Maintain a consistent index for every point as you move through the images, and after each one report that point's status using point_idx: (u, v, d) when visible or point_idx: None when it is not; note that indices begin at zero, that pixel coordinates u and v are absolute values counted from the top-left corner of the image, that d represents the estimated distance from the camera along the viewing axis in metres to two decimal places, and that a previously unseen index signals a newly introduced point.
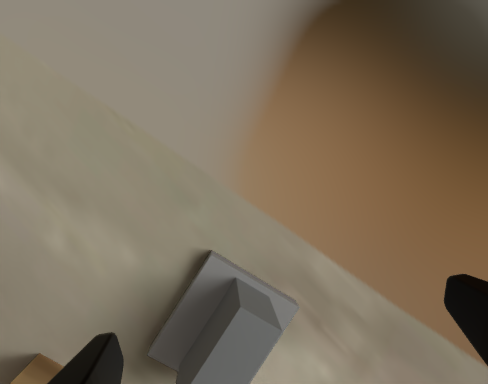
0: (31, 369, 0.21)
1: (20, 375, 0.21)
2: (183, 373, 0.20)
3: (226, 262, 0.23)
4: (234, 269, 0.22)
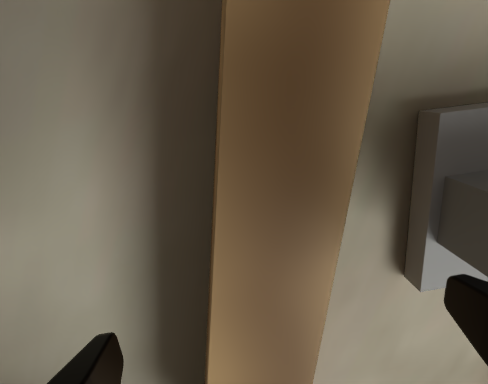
0: None
1: None
2: None
3: None
4: None
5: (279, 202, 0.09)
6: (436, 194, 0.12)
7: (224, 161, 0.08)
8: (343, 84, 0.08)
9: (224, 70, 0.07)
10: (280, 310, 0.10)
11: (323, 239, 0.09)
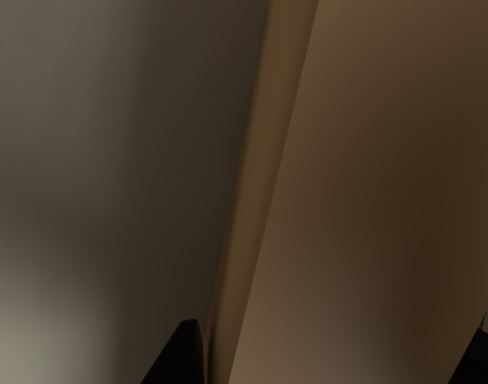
0: None
1: None
2: None
3: None
4: None
5: (361, 315, 0.05)
6: None
7: (275, 236, 0.04)
8: None
9: (310, 49, 0.03)
10: None
11: (421, 377, 0.05)
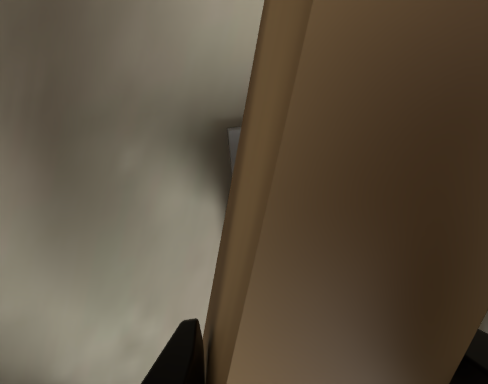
0: None
1: None
2: None
3: None
4: None
5: (359, 317, 0.05)
6: None
7: (271, 237, 0.04)
8: None
9: (306, 47, 0.03)
10: None
11: (420, 378, 0.05)
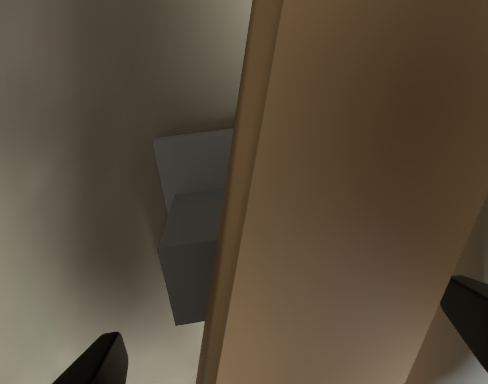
0: None
1: None
2: (196, 210, 0.12)
3: None
4: None
5: (336, 285, 0.05)
6: None
7: (256, 216, 0.05)
8: (477, 101, 0.04)
9: (276, 56, 0.04)
10: None
11: (394, 341, 0.06)
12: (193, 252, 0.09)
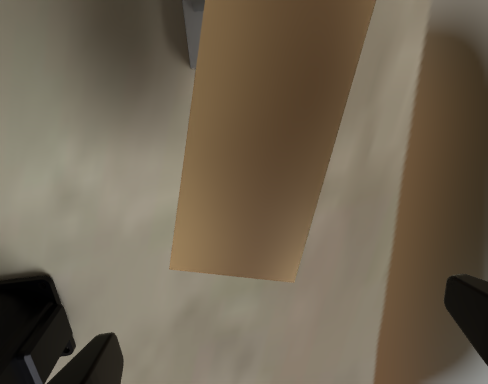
0: None
1: None
2: None
3: None
4: None
5: None
6: None
7: None
8: None
9: None
10: None
11: None
12: None
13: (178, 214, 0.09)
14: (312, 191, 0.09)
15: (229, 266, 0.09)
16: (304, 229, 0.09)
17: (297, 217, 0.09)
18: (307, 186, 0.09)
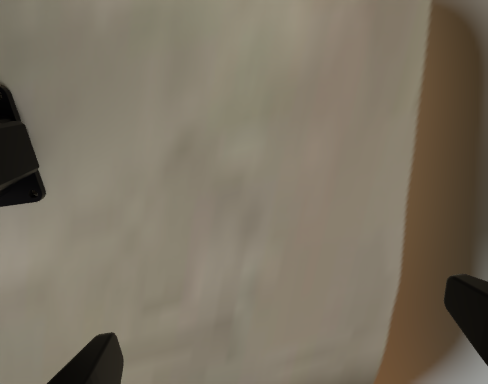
0: None
1: None
2: None
3: None
4: None
5: None
6: None
7: None
8: None
9: None
10: None
11: None
12: None
13: None
14: None
15: None
16: None
17: None
18: None
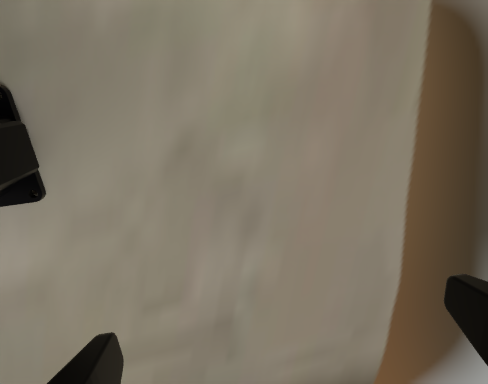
0: None
1: None
2: None
3: None
4: None
5: None
6: None
7: None
8: None
9: None
10: None
11: None
12: None
13: None
14: None
15: None
16: None
17: None
18: None
